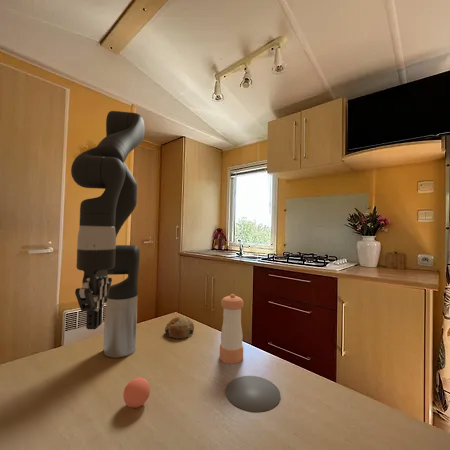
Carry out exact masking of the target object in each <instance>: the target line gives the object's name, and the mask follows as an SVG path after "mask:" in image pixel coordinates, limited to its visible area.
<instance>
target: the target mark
mask: <svg viewBox="0 0 450 450" xmlns="http://www.w3.org/2000/svg"><path fill="white" fill-rule="evenodd" d="M225 396H226V397H227V399H228V401H229V402H230V403H231V404H232V405H234V406H235V407H237V408H239V409H241V410H244V411H247V412H253V413H254V412H255V413H256V412H258V413H259V412H266V411H269V410H272V409H273V408H275V407H276V406H277V405H279V403H280V400H281V391H280V389H279V387H278V386H277V385H276V384H274V383H273V382H272V381H270V380H268V379H267V378H263V377H261V376H256V375H241V376H238V377H236V378H235V377H234V378H233V379H232V380H230V381H229V382H228V383H227V384H226V387H225Z"/></svg>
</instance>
